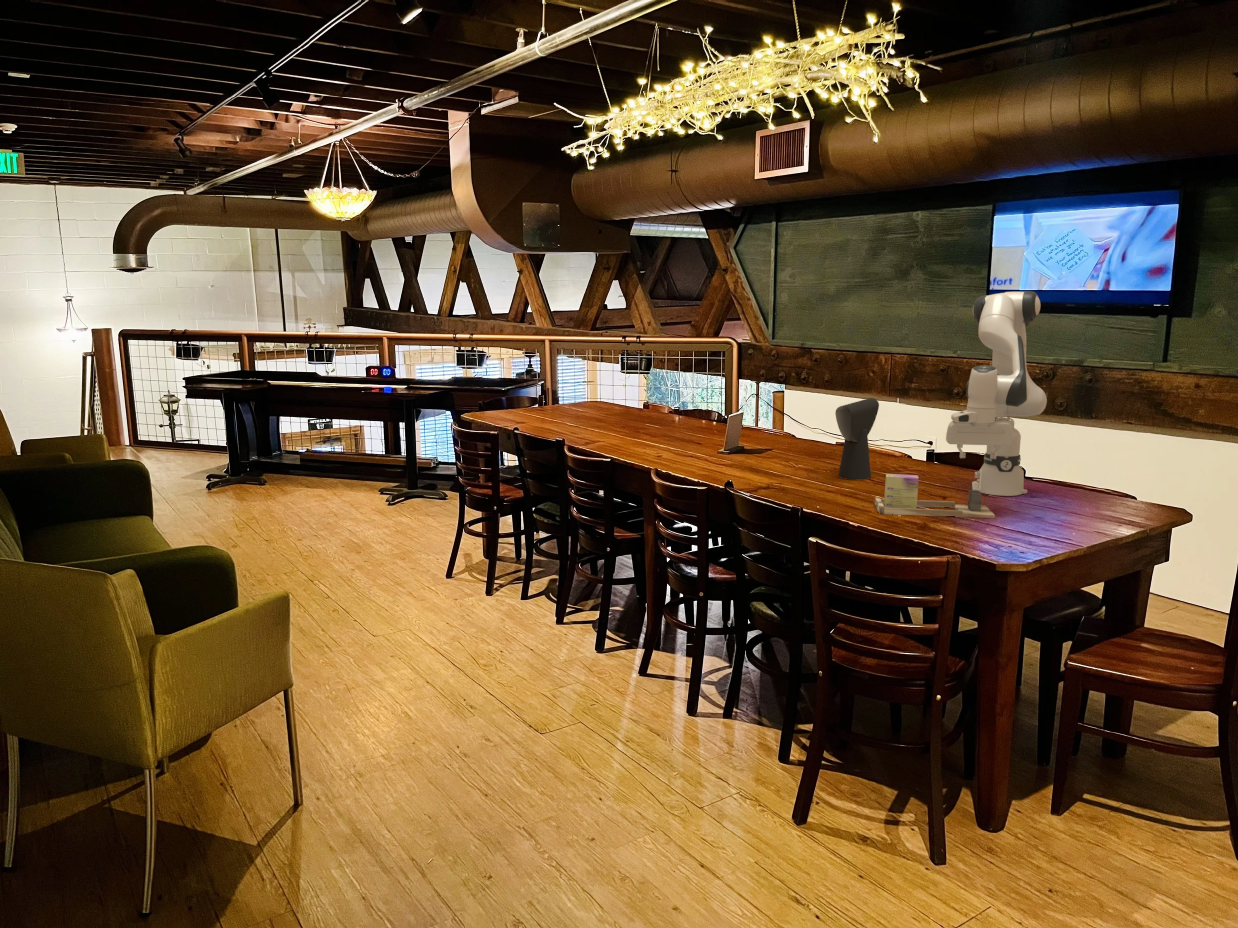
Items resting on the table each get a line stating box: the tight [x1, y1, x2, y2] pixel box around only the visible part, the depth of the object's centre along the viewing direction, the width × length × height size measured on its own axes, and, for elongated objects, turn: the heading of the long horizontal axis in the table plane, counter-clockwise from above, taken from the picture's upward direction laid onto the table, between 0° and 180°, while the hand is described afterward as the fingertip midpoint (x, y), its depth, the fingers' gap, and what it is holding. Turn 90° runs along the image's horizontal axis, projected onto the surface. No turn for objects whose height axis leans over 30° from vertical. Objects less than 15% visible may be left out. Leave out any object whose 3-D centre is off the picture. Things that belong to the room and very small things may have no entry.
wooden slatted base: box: [874, 489, 996, 519], centre depth 295 cm, size 14×36×7 cm, turn 80°
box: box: [883, 473, 920, 509], centre depth 296 cm, size 10×6×12 cm, turn 74°
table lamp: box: [806, 397, 880, 480], centre depth 346 cm, size 40×28×30 cm
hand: (977, 458), depth 290 cm, fingers open, 8 cm apart
